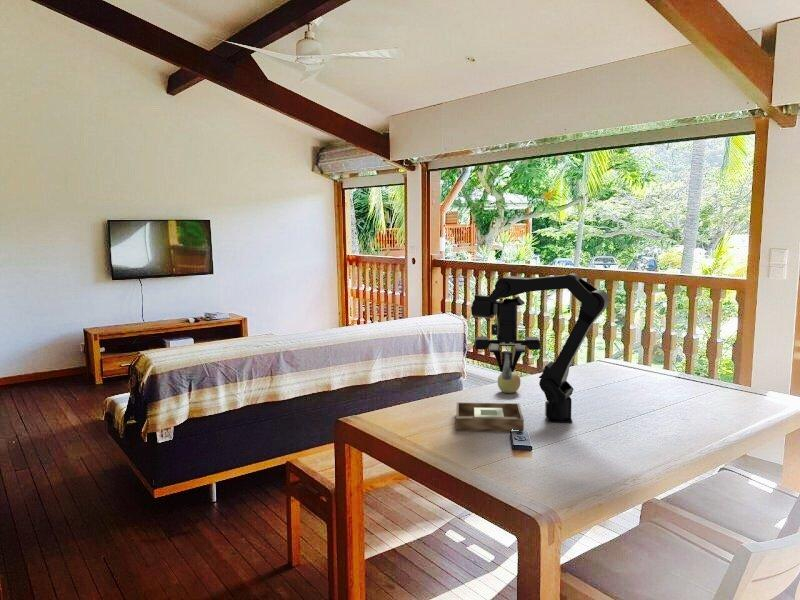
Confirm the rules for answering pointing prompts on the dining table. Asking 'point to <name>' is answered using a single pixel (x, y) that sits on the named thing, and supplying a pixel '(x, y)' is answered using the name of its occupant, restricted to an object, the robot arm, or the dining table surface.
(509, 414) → the crate
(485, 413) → the bore plate
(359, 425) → the dining table surface
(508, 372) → the peg
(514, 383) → the fruit
